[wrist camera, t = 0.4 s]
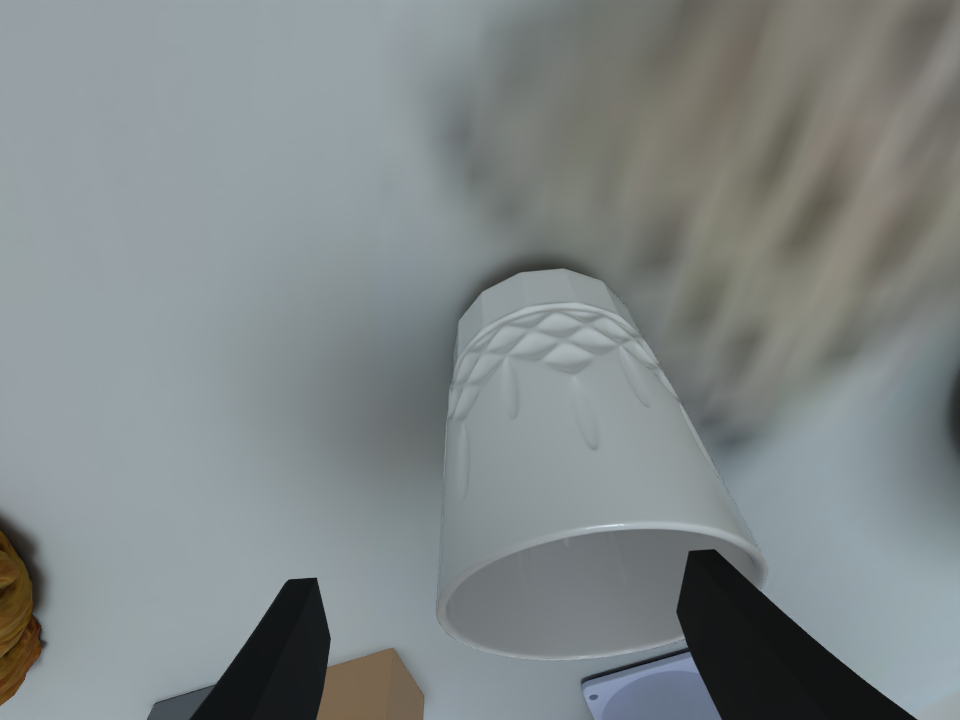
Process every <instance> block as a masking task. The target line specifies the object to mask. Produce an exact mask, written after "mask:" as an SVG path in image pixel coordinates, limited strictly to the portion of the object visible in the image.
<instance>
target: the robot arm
mask: <svg viewBox="0 0 960 720" xmlns="http://www.w3.org/2000/svg"><path fill="white" fill-rule="evenodd" d="M676 613H677V616H678V619H679V622H680V625H681V628H682V631H683V634H684V637H685V639H686V642H687V645H688V648H689V650H690V652H686V653H683V654H679V655H676V656H672V657H669V658H666V659H662V660H659V661H655V662H652V663H648V664H645V665H641V666H638V667H634V668H631V669H627V670H624V671H620V672H617V673H613V674H610V675H606V676H603V677H599V678H596V679H592V680H589V681H586V682H585V683H583V685H582V691H583V695H584V697H585V699H586V702H587V704H588V707H589V709H590V711H591V714H592V716H593V718H594V720H917V719H916V718H914V717H913V716H912V715H910V714H909V713H908V712H906V711H905V710H904V709H902V708H901V707H899V706H898V705H897V704H895V703H894V702H893V701H891V700H890V699H889V698H887V697H886V696H884V695H883V694H882V693H880V692H879V691H878V690H876V689H875V688H874V687H873V686H871V685H870V684H869V683H867V682H866V681H865V680H863V679H862V678H861V677H860V676H858V675H857V674H856V673H855V672H853V671H852V670H851V669H850V668H849V667H847V666H846V665H845V664H844V663H842V662H841V661H840V660H839V659H837V658H836V657H835V656H834V655H833V654H831V653H830V652H829V651H828V650H826V649H825V648H824V647H823V646H822V645H821V644H819V643H818V642H817V641H816V640H815V639H813V638H812V637H811V636H810V635H809V634H808V633H806V632H805V631H804V630H803V629H802V628H801V627H800V626H799V625H797V624H796V623H795V622H794V621H793V620H792V619H791V618H789V617H788V616H787V615H786V614H785V613H784V612H783V611H782V610H780V609H779V608H778V607H777V606H776V605H775V604H774V603H773V602H772V601H770V600H769V599H768V598H767V597H766V596H765V595H764V594H763V593H762V592H761V591H760V590H758V589H757V588H756V587H755V586H754V585H753V584H752V583H751V582H750V581H749V580H748V579H747V578H746V577H744V576H743V575H742V574H741V573H740V572H739V571H738V570H737V569H736V568H735V567H734V566H733V565H732V564H730V563H729V562H728V561H727V560H726V559H725V558H724V557H723V556H722V555H721V554H720V553H719V552H717V551H716V550H715V549H707V550H693V551H689V552H688V557H687V562H686V567H685V571H684V576H683V581H682V586H681V590H680V595H679V600H678V605H677V610H676ZM330 641H331V637H330V633H329V629H328V624H327V620H326V616H325V611H324V607H323V603H322V598H321V594H320V590H319V585H318V581H317V578H303V579H289V580H288V581H287V582H286V583H285V584H284V586H283V587H282V589H281V590H280V592H279V593H278V595H277V597H276V598H275V600H274V601H273V603H272V604H271V606H270V607H269V609H268V610H267V612H266V614H265V615H264V617H263V618H262V620H261V621H260V623H259V624H258V626H257V627H256V629H255V630H254V631H253V633H252V634H251V636H250V637H249V639H248V640H247V642H246V643H245V645H244V646H243V647H242V649H241V650H240V652H239V653H238V655H237V656H236V657H235V659H234V660H233V662H232V663H231V664H230V666H229V667H228V669H227V670H226V671H225V673H224V674H223V676H222V677H221V678H220V680H219V681H218V682H217V684H216V685H215V686H214V688H213V689H212V690H211V692H210V693H209V694H208V696H207V697H206V698H205V699H204V701H203V702H202V703H201V705H200V706H199V707H198V708H197V710H196V711H195V712H194V714H193V715H192V716H191V718H190V719H189V720H316V719H317V715H318V711H319V707H320V703H321V698H322V694H323V690H324V684H325V677H326V670H327V663H328V656H329V649H330Z"/></svg>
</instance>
